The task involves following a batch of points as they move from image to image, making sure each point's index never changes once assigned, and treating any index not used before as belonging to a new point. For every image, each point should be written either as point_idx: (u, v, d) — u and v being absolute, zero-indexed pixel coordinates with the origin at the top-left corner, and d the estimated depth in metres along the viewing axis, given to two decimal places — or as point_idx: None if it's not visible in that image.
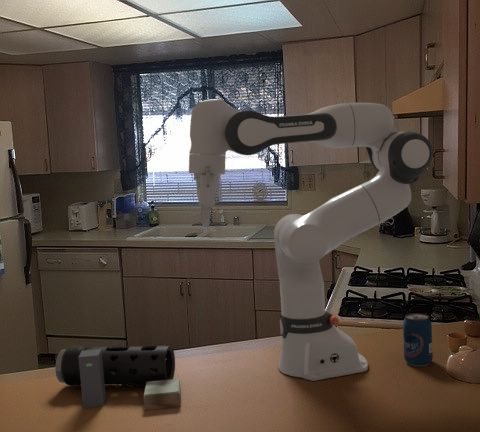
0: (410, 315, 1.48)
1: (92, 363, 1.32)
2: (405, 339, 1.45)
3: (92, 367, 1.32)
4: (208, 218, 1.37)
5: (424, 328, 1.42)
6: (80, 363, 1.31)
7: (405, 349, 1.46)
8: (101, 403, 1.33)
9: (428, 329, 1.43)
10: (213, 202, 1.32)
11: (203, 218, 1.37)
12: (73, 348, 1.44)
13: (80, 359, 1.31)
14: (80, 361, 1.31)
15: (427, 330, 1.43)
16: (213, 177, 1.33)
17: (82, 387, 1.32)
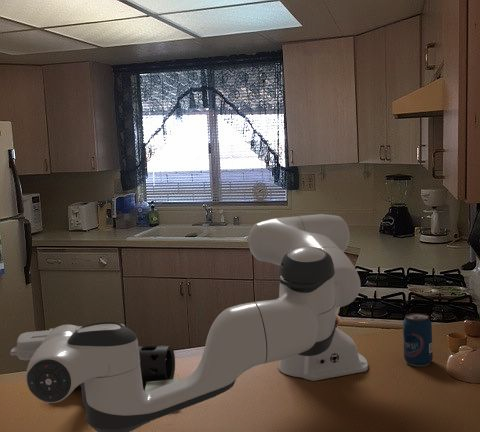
0: (410, 315, 1.48)
1: None
2: (405, 339, 1.45)
3: None
4: None
5: (425, 328, 1.42)
6: None
7: (405, 349, 1.46)
8: None
9: (428, 329, 1.43)
10: None
11: None
12: None
13: None
14: None
15: (427, 330, 1.43)
16: (20, 357, 1.07)
17: (82, 387, 1.32)
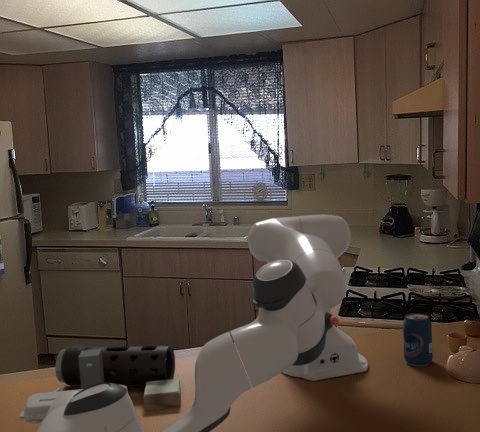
0: (410, 315, 1.48)
1: (92, 363, 1.32)
2: (405, 339, 1.45)
3: (92, 367, 1.32)
4: None
5: (424, 328, 1.42)
6: (80, 363, 1.31)
7: (405, 349, 1.46)
8: None
9: (428, 329, 1.43)
10: None
11: None
12: (73, 348, 1.44)
13: (80, 359, 1.31)
14: (80, 361, 1.31)
15: (427, 330, 1.43)
16: None
17: (82, 387, 1.32)
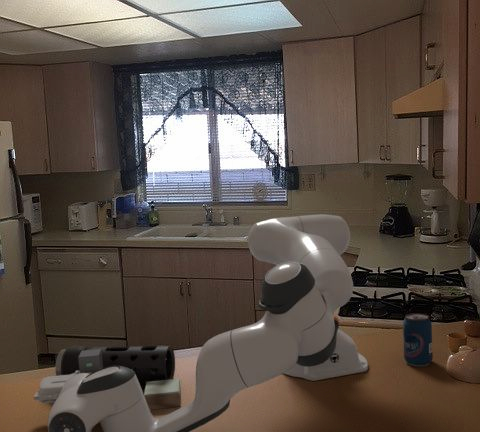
0: (410, 315, 1.48)
1: (92, 363, 1.32)
2: (405, 339, 1.45)
3: (92, 367, 1.32)
4: None
5: (425, 328, 1.42)
6: (80, 363, 1.31)
7: (405, 349, 1.46)
8: None
9: (428, 329, 1.43)
10: None
11: None
12: (73, 348, 1.44)
13: (80, 359, 1.31)
14: (80, 361, 1.31)
15: (427, 330, 1.43)
16: (42, 401, 1.23)
17: None
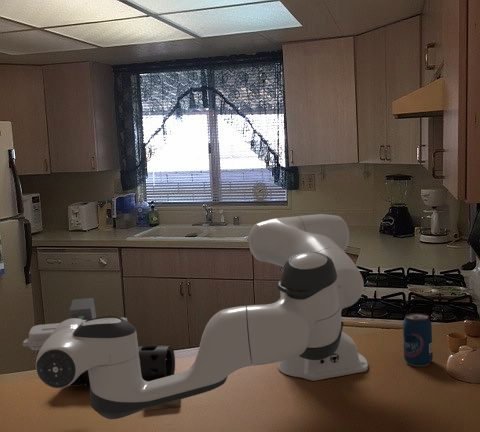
0: (410, 315, 1.48)
1: (84, 315, 1.26)
2: (405, 339, 1.45)
3: (85, 319, 1.26)
4: None
5: (424, 328, 1.42)
6: (72, 316, 1.26)
7: (405, 349, 1.46)
8: None
9: (428, 329, 1.43)
10: None
11: None
12: None
13: (71, 312, 1.25)
14: (71, 314, 1.26)
15: (427, 330, 1.43)
16: (31, 348, 1.18)
17: None
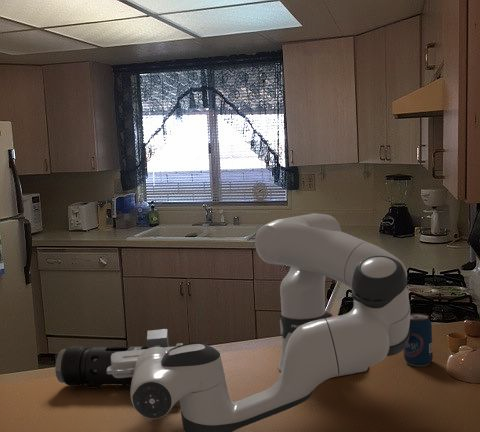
0: (410, 315, 1.48)
1: (160, 345, 1.31)
2: None
3: None
4: None
5: (424, 328, 1.42)
6: (148, 345, 1.30)
7: (405, 349, 1.46)
8: None
9: (428, 329, 1.43)
10: None
11: None
12: (73, 348, 1.44)
13: (148, 341, 1.30)
14: (148, 343, 1.30)
15: (427, 330, 1.43)
16: (114, 376, 1.21)
17: None
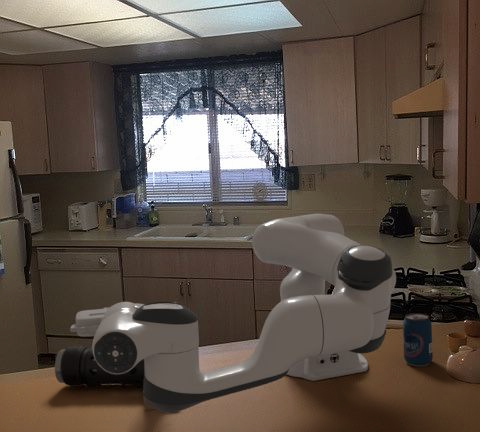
0: (410, 315, 1.48)
1: None
2: (405, 339, 1.45)
3: None
4: None
5: (425, 328, 1.42)
6: None
7: (405, 349, 1.46)
8: None
9: (428, 329, 1.43)
10: None
11: None
12: (72, 348, 1.44)
13: None
14: None
15: (427, 330, 1.43)
16: (79, 334, 1.10)
17: None
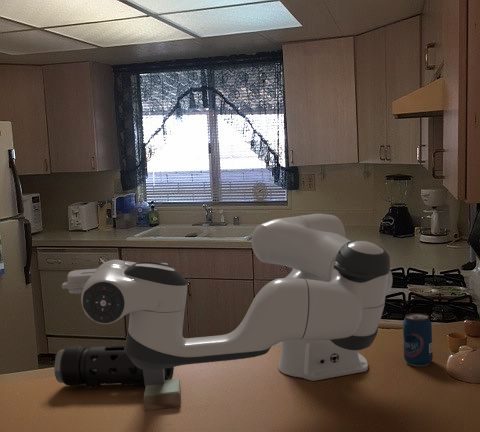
0: (410, 315, 1.48)
1: None
2: (405, 339, 1.45)
3: None
4: None
5: (425, 328, 1.42)
6: None
7: (405, 349, 1.46)
8: (162, 381, 1.34)
9: (428, 329, 1.43)
10: None
11: None
12: (72, 348, 1.44)
13: None
14: None
15: (427, 330, 1.43)
16: (70, 291, 1.12)
17: None
